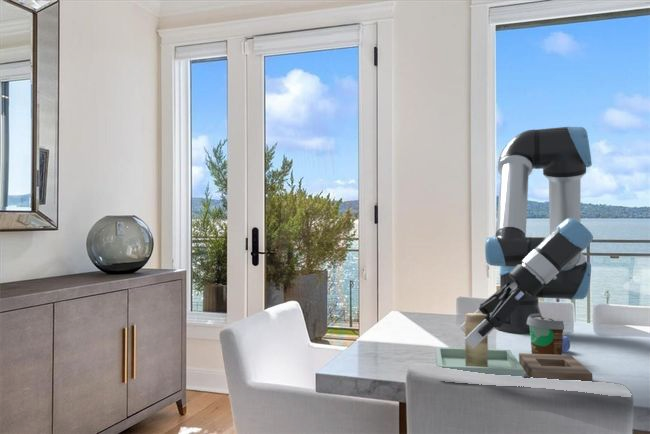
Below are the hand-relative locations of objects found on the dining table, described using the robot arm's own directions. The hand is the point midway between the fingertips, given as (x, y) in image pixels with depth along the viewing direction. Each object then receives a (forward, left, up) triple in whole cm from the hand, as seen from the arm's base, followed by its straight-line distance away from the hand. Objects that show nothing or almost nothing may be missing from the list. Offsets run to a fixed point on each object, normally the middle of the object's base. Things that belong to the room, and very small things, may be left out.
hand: (465, 337), depth 125 cm
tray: (0, +2, -8) cm, 8 cm away
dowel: (0, +2, -7) cm, 7 cm away
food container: (-17, +20, -8) cm, 28 cm away
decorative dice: (-23, +26, -8) cm, 36 cm away
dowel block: (0, +19, -8) cm, 21 cm away
